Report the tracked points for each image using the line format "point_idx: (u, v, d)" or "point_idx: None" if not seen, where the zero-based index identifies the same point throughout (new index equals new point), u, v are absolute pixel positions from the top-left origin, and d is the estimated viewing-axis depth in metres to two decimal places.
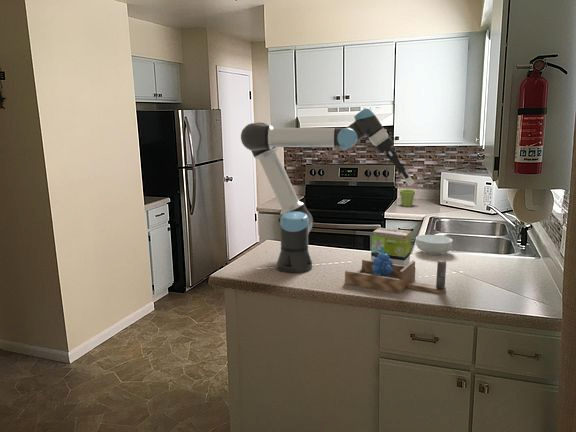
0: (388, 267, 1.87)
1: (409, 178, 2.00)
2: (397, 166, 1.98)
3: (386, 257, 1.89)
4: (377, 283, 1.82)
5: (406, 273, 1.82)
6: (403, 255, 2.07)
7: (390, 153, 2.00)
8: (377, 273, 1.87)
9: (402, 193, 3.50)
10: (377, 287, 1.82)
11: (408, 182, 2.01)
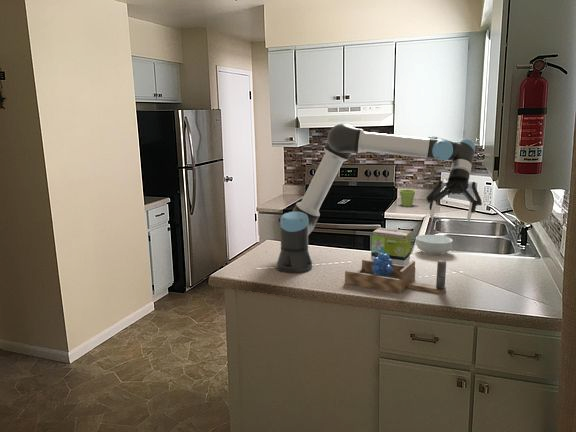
0: (388, 267, 1.87)
1: (471, 214, 1.82)
2: (479, 197, 1.83)
3: (386, 257, 1.89)
4: (377, 283, 1.82)
5: (406, 273, 1.82)
6: (403, 255, 2.07)
7: (475, 185, 1.87)
8: (377, 273, 1.87)
9: (402, 193, 3.50)
10: (377, 287, 1.82)
11: (470, 214, 1.80)
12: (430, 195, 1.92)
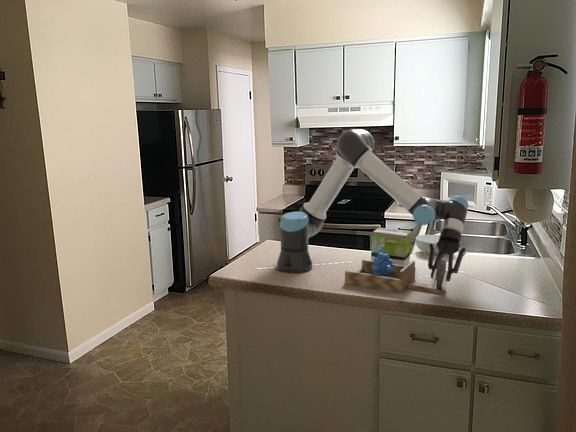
0: (388, 267, 1.87)
1: (446, 282, 1.76)
2: (458, 265, 1.77)
3: (386, 257, 1.89)
4: (377, 283, 1.82)
5: (406, 273, 1.82)
6: (403, 255, 2.07)
7: (464, 252, 1.80)
8: (377, 273, 1.87)
9: None
10: (377, 287, 1.82)
11: (444, 283, 1.75)
12: (430, 261, 1.81)
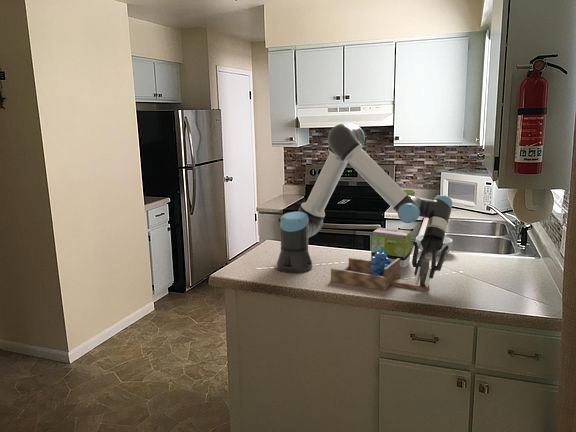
0: (386, 266, 1.87)
1: (429, 279, 1.79)
2: (441, 263, 1.80)
3: (383, 256, 1.89)
4: (361, 280, 1.85)
5: (390, 271, 1.85)
6: (403, 255, 2.07)
7: (447, 250, 1.83)
8: (375, 273, 1.88)
9: None
10: (362, 284, 1.85)
11: (428, 281, 1.78)
12: (414, 259, 1.84)
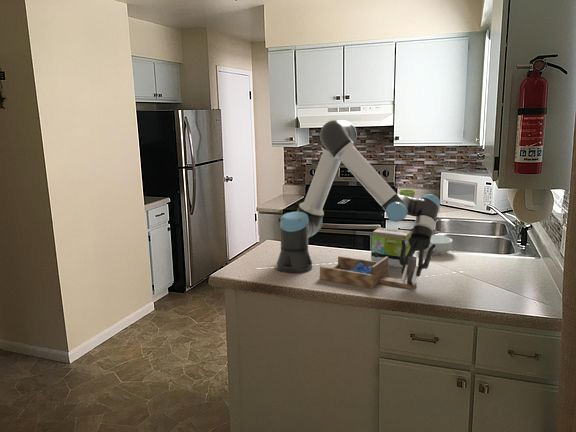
0: (358, 265, 1.93)
1: (416, 277, 1.81)
2: (428, 261, 1.82)
3: None
4: (350, 278, 1.87)
5: (378, 269, 1.87)
6: None
7: (434, 248, 1.85)
8: (366, 272, 1.91)
9: (402, 193, 3.50)
10: (350, 282, 1.87)
11: (414, 278, 1.80)
12: (401, 257, 1.87)
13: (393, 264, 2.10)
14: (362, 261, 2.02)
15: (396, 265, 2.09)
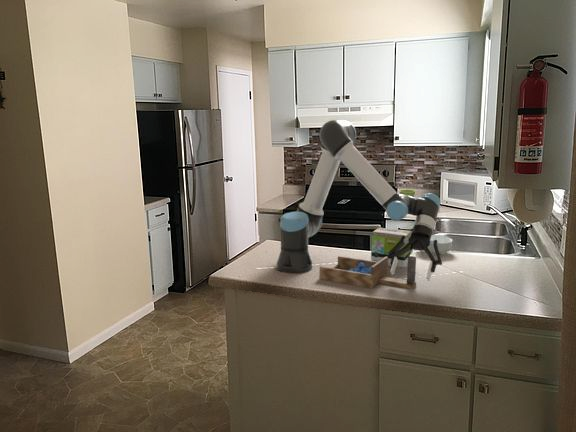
0: (359, 264, 1.94)
1: (430, 273, 1.80)
2: None
3: (351, 270, 1.95)
4: (349, 278, 1.87)
5: (378, 269, 1.88)
6: (403, 255, 2.07)
7: (437, 243, 1.86)
8: (367, 272, 1.91)
9: (402, 193, 3.50)
10: (350, 282, 1.88)
11: (429, 274, 1.79)
12: (392, 250, 1.90)
13: None
14: (362, 261, 2.02)
15: None
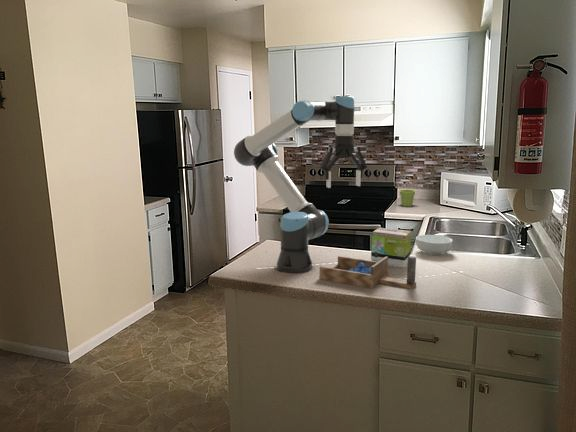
0: (359, 264, 1.94)
1: None
2: None
3: (351, 270, 1.95)
4: (349, 278, 1.87)
5: (378, 269, 1.88)
6: (403, 255, 2.07)
7: None
8: (367, 272, 1.91)
9: (402, 193, 3.50)
10: (350, 282, 1.88)
11: None
12: (325, 165, 1.98)
13: (393, 264, 2.10)
14: (362, 261, 2.02)
15: (396, 265, 2.09)
